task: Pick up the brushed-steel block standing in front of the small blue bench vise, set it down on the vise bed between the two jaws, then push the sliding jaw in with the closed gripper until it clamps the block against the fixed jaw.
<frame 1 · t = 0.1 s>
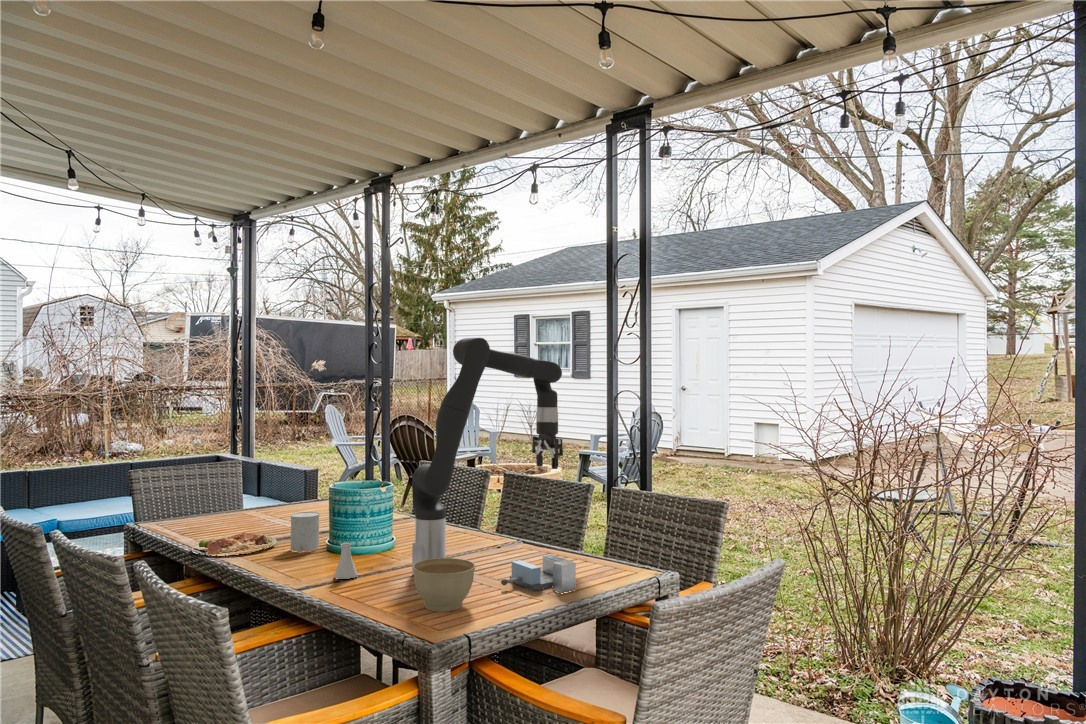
hand: (547, 467, 248), 29 cm above the table, tool pointing down, fingers open, 8 cm apart
grey cylinder: (304, 550, 251), on the table
vise: (542, 581, 212), on the table
sliding jaw: (516, 574, 206), point 4 cm above the table, slide at 0.0 cm
flask: (345, 578, 216), on the table
rice dish: (234, 549, 253), on the table
planter bowl: (444, 607, 189), on the table
steel block: (564, 591, 203), on the table
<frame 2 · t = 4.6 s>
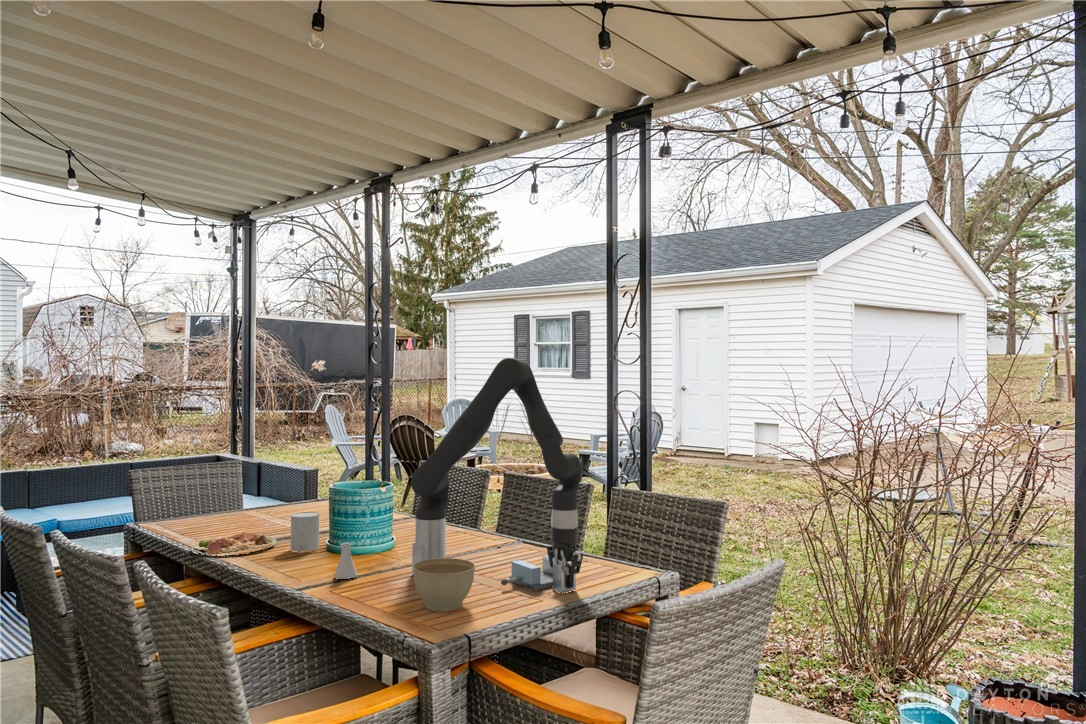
hand: (564, 585, 203), 1 cm above the table, tool pointing down, fingers closed on steel block, 4 cm apart
steel block: (564, 591, 203), on the table, touching gripper
everything else where it was.
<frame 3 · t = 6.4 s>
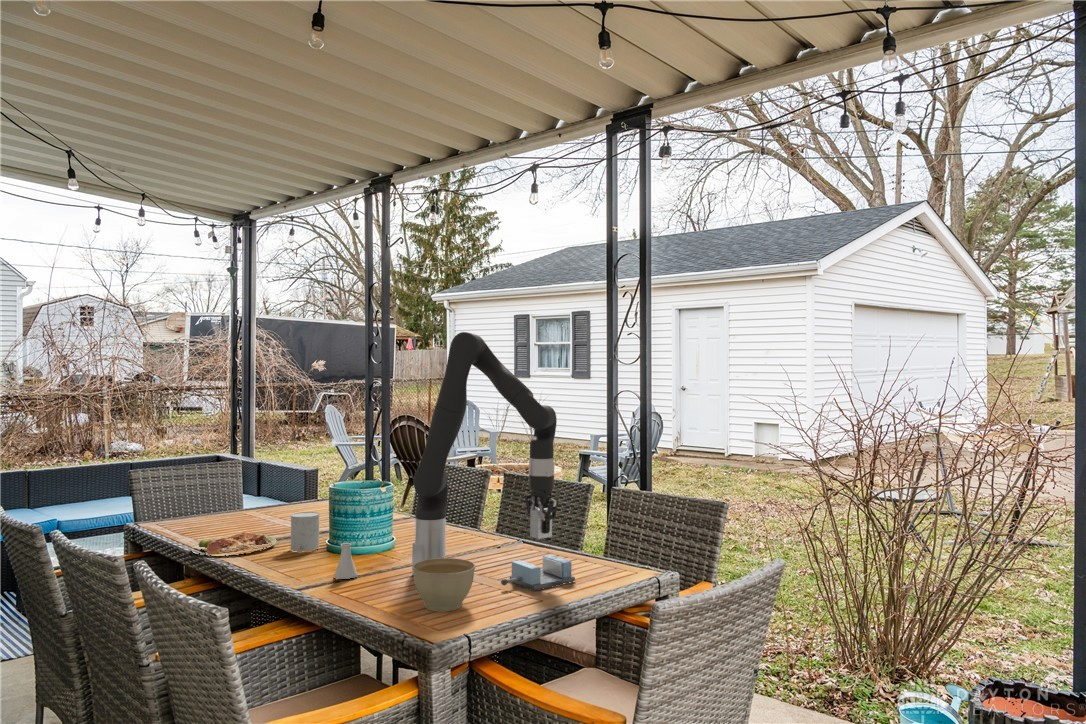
hand: (541, 531, 212), 15 cm above the table, tool pointing down, fingers closed on steel block, 4 cm apart
steel block: (541, 536, 212), point 13 cm above the table, touching gripper
everything else where it was.
when the fingers open (4 cm above the table, at t = 8.3 s): steel block stays where it is, resting on vise.
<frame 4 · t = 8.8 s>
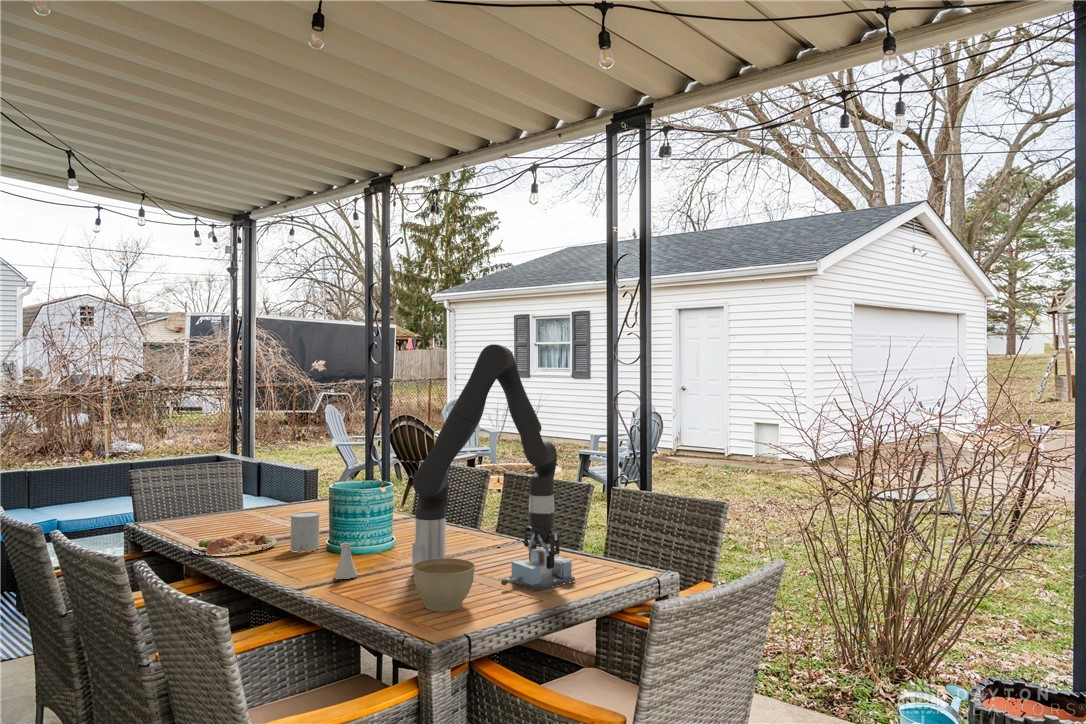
hand: (541, 565, 212), 5 cm above the table, tool pointing down, fingers open, 8 cm apart
steel block: (541, 576, 212), point 1 cm above the table, touching vise
everything else where it was.
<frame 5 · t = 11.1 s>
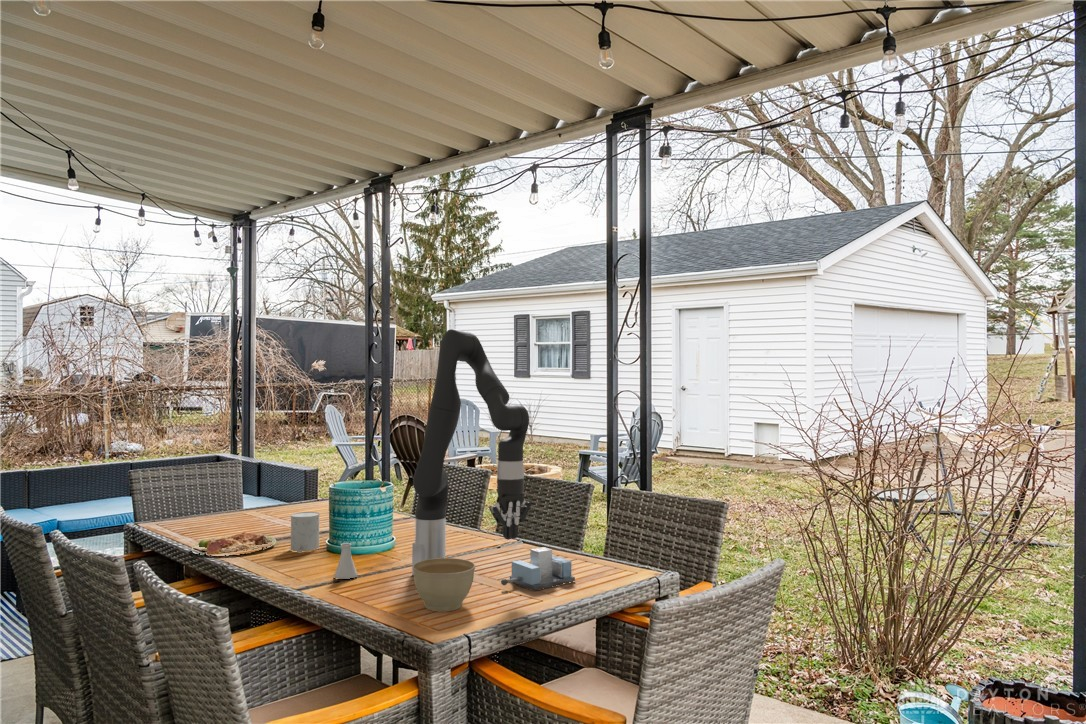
hand: (510, 538, 202), 15 cm above the table, tool pointing down, fingers closed
nothing on the table moved.
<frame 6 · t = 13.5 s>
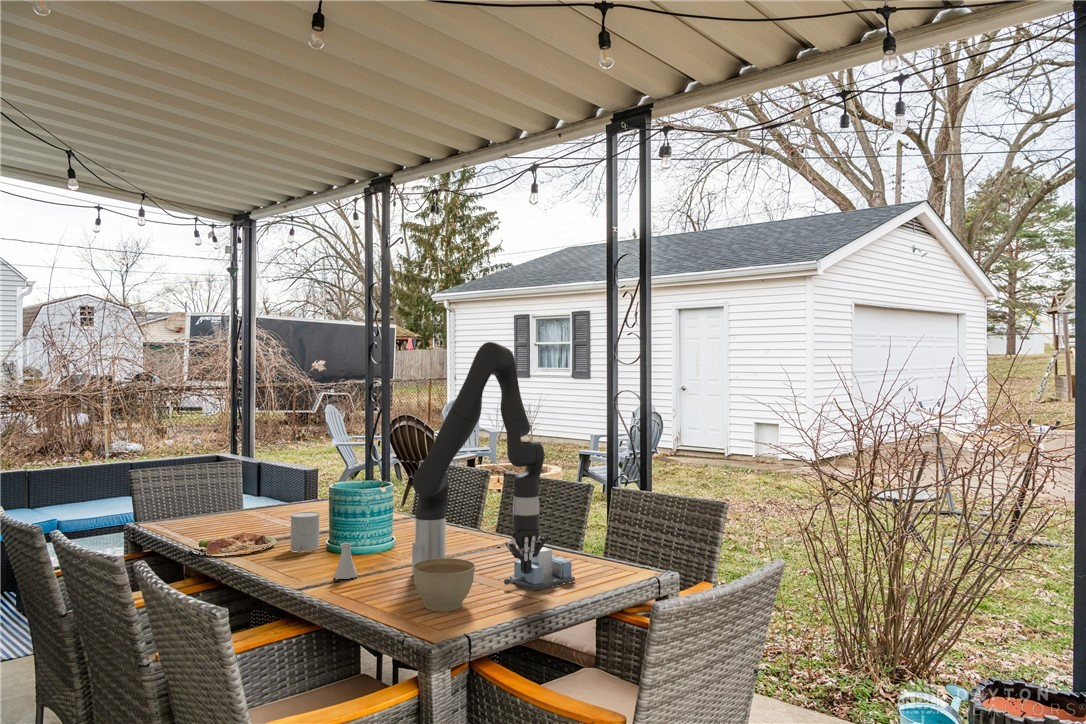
hand: (526, 573, 204), 5 cm above the table, tool pointing down, fingers closed
sliding jaw: (519, 573, 207), point 4 cm above the table, slide at 1.0 cm, touching gripper
everything else where it was.
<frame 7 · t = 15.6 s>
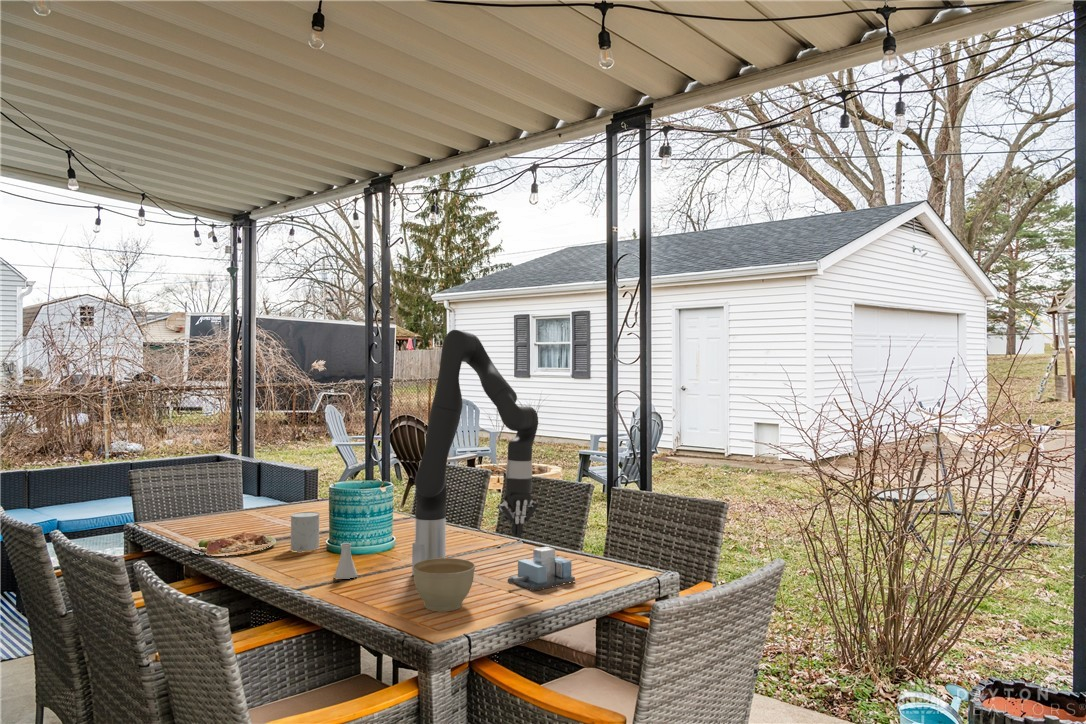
hand: (516, 536, 206), 15 cm above the table, tool pointing down, fingers closed
sliding jaw: (523, 573, 208), point 4 cm above the table, slide at 2.2 cm
steel block: (544, 576, 212), point 1 cm above the table, touching vise
everything else where it was.
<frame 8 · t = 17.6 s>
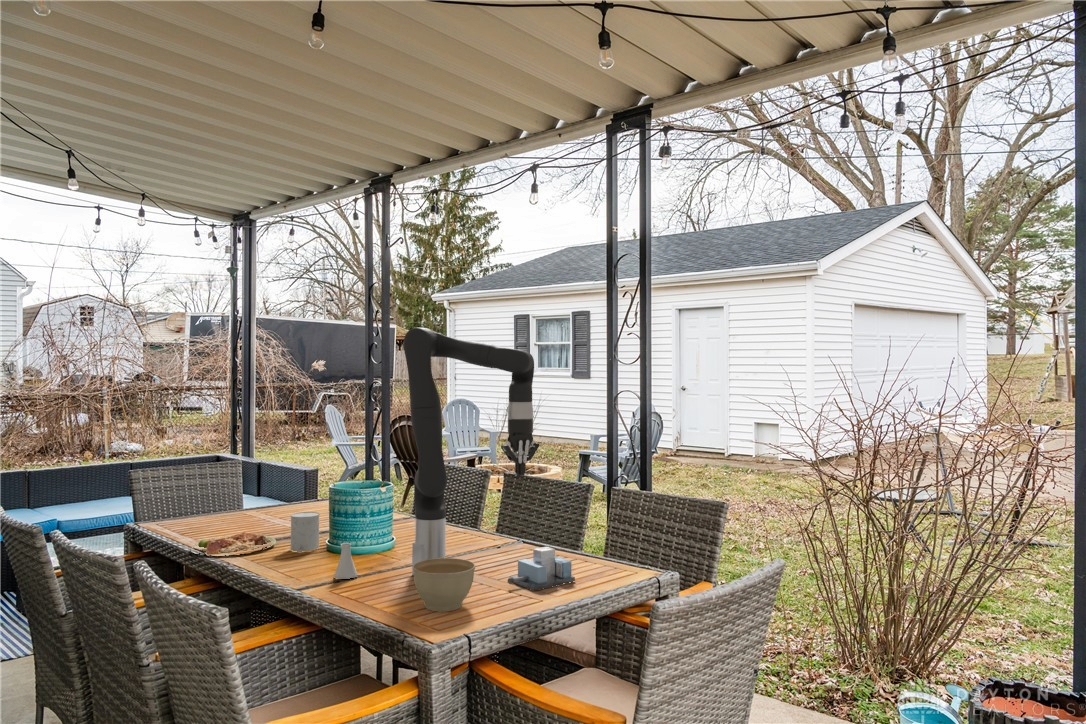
hand: (520, 475, 214), 31 cm above the table, tool pointing down, fingers closed
nothing on the table moved.
at the end: steel block 0.3 cm from the target spot, point 1.5 cm above the table; steel block tilted 0°; sliding jaw slide at 2.2 cm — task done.
